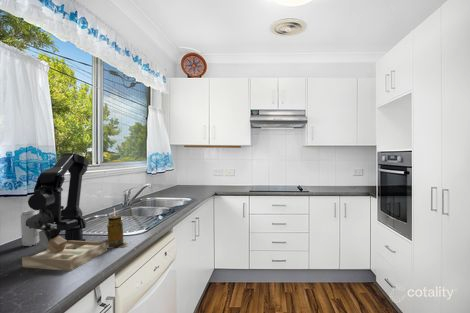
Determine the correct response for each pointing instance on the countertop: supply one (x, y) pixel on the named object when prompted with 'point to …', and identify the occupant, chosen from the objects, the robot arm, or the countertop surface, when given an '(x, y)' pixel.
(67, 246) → the box
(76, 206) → the robot arm
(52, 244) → the walnut block
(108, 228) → the condiment
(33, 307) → the countertop surface
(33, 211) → the energy drink can
